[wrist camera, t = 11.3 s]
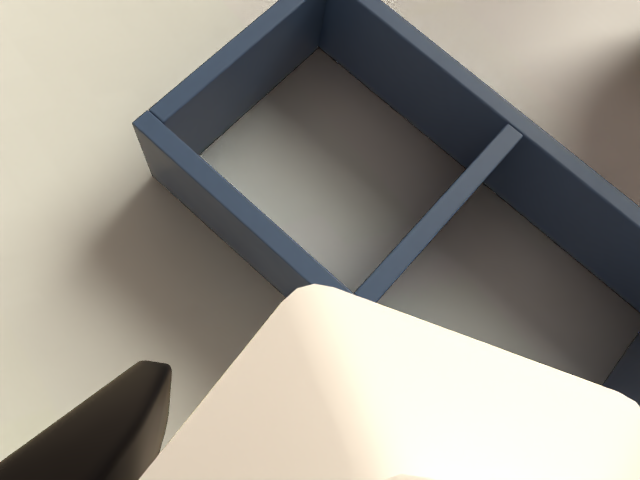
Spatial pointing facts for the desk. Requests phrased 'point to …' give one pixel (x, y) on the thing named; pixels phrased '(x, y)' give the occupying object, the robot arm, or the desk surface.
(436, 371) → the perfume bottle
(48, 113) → the desk surface
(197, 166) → the box
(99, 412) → the robot arm
